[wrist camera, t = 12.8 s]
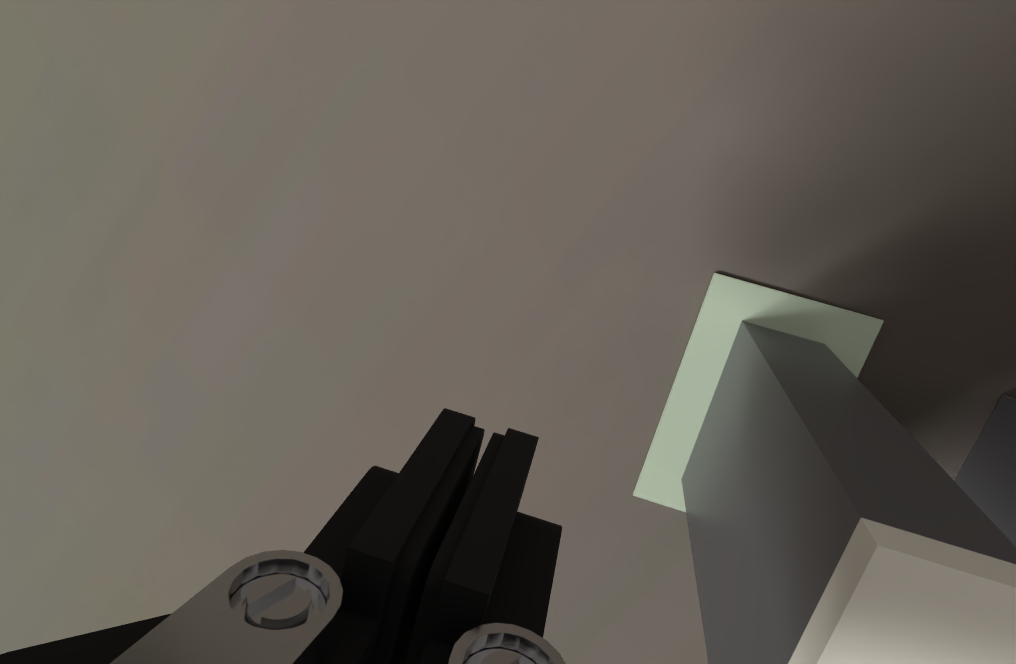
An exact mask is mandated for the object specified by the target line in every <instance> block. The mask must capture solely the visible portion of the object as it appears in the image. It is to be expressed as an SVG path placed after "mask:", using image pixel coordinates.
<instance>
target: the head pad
mask: <svg viewBox="0 0 1016 664" xmlns="http://www.w3.org/2000/svg"><path fill="white" fill-rule="evenodd" d="M741 321H745V322H748V323H752V324H756V325H759V326H763V327H766V328H770V329H773V330H777V331H781V332H784V333H788V334H791V335H795V336H799V337H802V338H806V339H809V340H813V341H817V342H820V343H824V344H825V345H826V346H827V347H828V348H829V349H830V350H831V351H832V352H833V353H834V354H835V355H836V356H837V357H838V358H839V359H840V360H841V362H842V363H843V364H844V365H845V366H846V367H847V368H848V369H849V370H850V371H851V372H852V373H853V374H854V375H855V376H856V377H857V378H858V375H859V373H860V371H861V369H862V367H863V365H864V363H865V361H866V358H867V356H868V354H869V352H870V350H871V348H872V346H873V343H874V341H875V339H876V337H877V335H878V333H879V331H880V329H881V326H882V324H883V322H884V321H883V320H881V319H878V318H874V317H870V316H867V315H863V314H860V313H856V312H853V311H849V310H846V309H842V308H839V307H835V306H832V305H828V304H824V303H821V302H817V301H814V300H810V299H807V298H803V297H800V296H796V295H793V294H789V293H785V292H782V291H778V290H775V289H771V288H768V287H764V286H761V285H757V284H754V283H750V282H746V281H743V280H739V279H736V278H732V277H729V276H725V275H722V274H718V273H715V272H714V274H713V277H712V280H711V283H710V285H709V288H708V291H707V293H706V296H705V299H704V302H703V304H702V307H701V310H700V313H699V315H698V318H697V321H696V324H695V326H694V329H693V332H692V334H691V337H690V340H689V343H688V345H687V348H686V351H685V354H684V356H683V359H682V362H681V364H680V367H679V370H678V373H677V375H676V378H675V381H674V384H673V386H672V389H671V392H670V394H669V397H668V400H667V403H666V405H665V408H664V411H663V414H662V416H661V419H660V422H659V424H658V427H657V430H656V433H655V435H654V438H653V441H652V444H651V446H650V449H649V452H648V455H647V457H646V460H645V463H644V465H643V468H642V471H641V474H640V476H639V479H638V482H637V485H636V487H635V490H634V493H633V496H636V497H639V498H643V499H646V500H649V501H652V502H655V503H658V504H661V505H664V506H668V507H671V508H674V509H677V510H680V511H683V512H686V508H685V501H684V494H683V487H682V481H681V479H682V476H683V474H684V471H685V468H686V466H687V463H688V461H689V458H690V455H691V453H692V450H693V447H694V445H695V442H696V439H697V437H698V434H699V432H700V429H701V426H702V424H703V421H704V418H705V416H706V413H707V411H708V408H709V405H710V403H711V400H712V397H713V395H714V392H715V390H716V387H717V384H718V382H719V379H720V376H721V374H722V371H723V368H724V366H725V363H726V361H727V358H728V355H729V353H730V350H731V347H732V345H733V342H734V340H735V337H736V334H737V332H738V329H739V326H740V324H741Z"/></svg>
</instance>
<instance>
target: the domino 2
mask: <svg viewBox="0 0 1016 664" xmlns="http://www.w3.org/2000/svg"><path fill="white" fill-rule="evenodd" d="M954 482H955V483H956V484H957V485H958V486H959V487H960V488H961V489H962V490H963V491H964V492H965V493H966V494H967V495H968V496H969V497H970V499H971V500H972V501H973V502H974V503H975V504H976V505H977V506H978V507H979V508H980V509H981V510H982V511H983V512H984V513H985V514H986V516H987V517H988V518H989V519H990V520H991V521H992V522H993V523H994V524H995V525H996V526H997V527H998V528H999V529H1000V530H1001V531H1002V533H1003V534H1004V535H1005V536H1006V537H1007V538H1008V539H1009V540H1010V541H1011V542H1012V543H1013V544H1014V545H1015V546H1016V398H1014V397H1011V396H1007V395H1004V394H1002V396H1001V398H1000V400H999V402H998V403H997V405H996V407H995V409H994V411H993V412H992V414H991V416H990V418H989V420H988V421H987V423H986V425H985V427H984V429H983V430H982V432H981V434H980V436H979V438H978V439H977V441H976V443H975V445H974V447H973V448H972V450H971V452H970V454H969V456H968V457H967V459H966V461H965V463H964V465H963V466H962V468H961V470H960V472H959V474H958V475H957V477H956V479H955V481H954Z"/></svg>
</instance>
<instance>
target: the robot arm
mask: <svg viewBox="0 0 1016 664" xmlns="http://www.w3.org/2000/svg"><path fill="white" fill-rule="evenodd" d="M474 425H475V418H474V417H471V416H468V415H465V414H462V413H458V412H455V411H452V410H449V409H445V408H444V409H443V411H442V412H441V413H440V415H439V416H438V418H437V419H436V421H435V422H434V424H433V425H432V426H431V428H430V429H429V431H428V432H427V434H426V435H425V437H424V438H423V439H422V441H421V442H420V444H419V445H418V447H417V448H416V450H415V451H414V453H413V454H412V455H411V457H410V458H409V460H408V461H407V463H406V464H405V466H404V467H403V468H402V470H401V471H400V473H396V472H393V471H390V470H387V469H384V468H381V467H378V466H373V467H372V468H371V469H370V470H369V471H368V472H367V473H366V474H365V476H364V477H363V478H362V479H361V481H360V482H359V483H358V484H357V486H356V487H355V488H354V490H353V491H352V492H351V493H350V495H349V496H348V497H347V498H346V500H345V501H344V502H343V503H342V505H341V506H340V507H339V508H338V510H337V511H336V512H335V514H334V515H333V516H332V517H331V519H330V520H329V521H328V522H327V524H326V525H325V526H324V527H323V529H322V530H321V531H320V533H319V534H318V535H317V536H316V538H315V539H314V540H313V541H312V543H311V544H310V545H309V546H308V548H307V549H306V550H305V552H304V553H302V552H296V551H286V550H278V551H268V552H262V553H259V554H256V555H252V556H249V557H246V558H244V559H243V560H241V561H239V562H238V563H236V564H234V565H233V566H231V567H230V568H228V569H227V570H226V571H225V572H223V573H222V574H221V575H220V576H218V577H217V578H216V579H215V580H213V581H212V582H211V583H210V584H208V585H207V586H206V587H205V588H203V589H202V590H201V591H200V592H198V593H197V594H196V595H195V596H193V597H192V598H191V599H190V600H188V601H187V602H186V603H185V604H183V605H182V606H181V607H180V608H178V609H177V610H176V611H175V612H173V613H172V614H168V615H163V616H159V617H155V618H151V619H146V620H142V621H138V622H134V623H129V624H125V625H121V626H117V627H112V628H108V629H104V630H100V631H96V632H91V633H87V634H83V635H79V636H74V637H70V638H66V639H62V640H57V641H53V642H49V643H45V644H40V645H36V646H32V647H28V648H24V649H19V650H15V651H11V652H7V653H4V654H1V655H0V664H565V662H564V660H563V658H562V657H561V655H560V653H559V652H558V651H557V650H556V649H555V648H554V647H553V646H552V645H551V644H550V643H549V642H548V641H547V640H545V639H543V634H544V628H545V622H546V617H547V611H548V605H549V600H550V594H551V588H552V583H553V577H554V571H555V566H556V560H557V554H558V549H559V543H560V537H561V531H562V526H560V525H557V524H554V523H551V522H548V521H545V520H542V519H539V518H536V517H532V516H529V515H526V514H523V513H520V512H517V510H518V507H519V504H520V500H521V497H522V493H523V490H524V486H525V483H526V480H527V476H528V473H529V469H530V466H531V463H532V459H533V456H534V452H535V449H536V445H537V442H538V438H539V437H536V436H532V435H529V434H526V433H523V432H520V431H516V430H513V429H510V428H508V430H507V432H506V434H505V436H504V435H501V434H498V433H493V435H492V437H491V439H490V441H489V443H488V446H487V448H486V450H485V452H484V454H483V456H482V458H481V461H480V463H479V465H478V467H477V469H476V471H475V467H476V463H477V459H478V455H479V451H480V448H481V444H482V440H483V436H484V429H482V428H478V427H475V426H474ZM474 471H475V473H474ZM473 474H474V476H473Z"/></svg>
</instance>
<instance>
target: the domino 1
mask: <svg viewBox="0 0 1016 664" xmlns="http://www.w3.org/2000/svg"><path fill="white" fill-rule="evenodd" d="M681 481H682V487H683V494H684V501H685V508H686V514H687V521H688V528H689V535H690V541H691V548H692V555H693V562H694V568H695V575H696V582H697V589H698V596H699V602H700V609H701V616H702V623H703V629H704V636H705V643H706V650H707V656H708V663H709V664H1016V546H1015V545H1014V544H1013V543H1012V542H1011V541H1010V540H1009V539H1008V538H1007V537H1006V536H1005V535H1004V534H1003V533H1002V531H1001V530H1000V529H999V528H998V527H997V526H996V525H995V524H994V523H993V522H992V521H991V520H990V519H989V518H988V517H987V516H986V514H985V513H984V512H983V511H982V510H981V509H980V508H979V507H978V506H977V505H976V504H975V503H974V502H973V501H972V500H971V499H970V497H969V496H968V495H967V494H966V493H965V492H964V491H963V490H962V489H961V488H960V487H959V486H958V485H957V484H956V483H955V482H954V480H953V479H952V478H951V477H950V476H949V475H948V474H947V473H946V472H945V471H944V470H943V469H942V468H941V467H940V466H939V465H938V463H937V462H936V461H935V460H934V459H933V458H932V457H931V456H930V455H929V454H928V453H927V452H926V451H925V450H924V449H923V448H922V446H921V445H920V444H919V443H918V442H917V441H916V440H915V439H914V438H913V437H912V436H911V435H910V434H909V433H908V432H907V431H906V430H905V428H904V427H903V426H902V425H901V424H900V423H899V422H898V421H897V420H896V419H895V418H894V417H893V416H892V415H891V414H890V413H889V411H888V410H887V409H886V408H885V407H884V406H883V405H882V404H881V403H880V402H879V401H878V400H877V399H876V398H875V397H874V396H873V394H872V393H871V392H870V391H869V390H868V389H867V388H866V387H865V386H864V385H863V384H862V383H861V382H860V381H859V380H858V379H857V377H856V376H855V375H854V374H853V373H852V372H851V371H850V370H849V369H848V368H847V367H846V366H845V365H844V364H843V363H842V362H841V360H840V359H839V358H838V357H837V356H836V355H835V354H834V353H833V352H832V351H831V350H830V349H829V348H828V347H827V346H826V345H825V344H824V343H820V342H817V341H813V340H809V339H806V338H802V337H799V336H795V335H791V334H788V333H784V332H781V331H777V330H773V329H770V328H766V327H763V326H759V325H756V324H752V323H748V322H745V321H741V324H740V326H739V329H738V332H737V334H736V337H735V340H734V342H733V345H732V347H731V350H730V353H729V355H728V358H727V361H726V363H725V366H724V368H723V371H722V374H721V376H720V379H719V382H718V384H717V387H716V390H715V392H714V395H713V397H712V400H711V403H710V405H709V408H708V411H707V413H706V416H705V418H704V421H703V424H702V426H701V429H700V432H699V434H698V437H697V439H696V442H695V445H694V447H693V450H692V453H691V455H690V458H689V461H688V463H687V466H686V468H685V471H684V474H683V476H682V479H681Z"/></svg>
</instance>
